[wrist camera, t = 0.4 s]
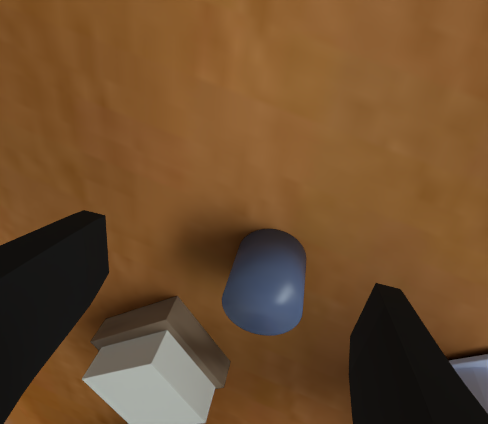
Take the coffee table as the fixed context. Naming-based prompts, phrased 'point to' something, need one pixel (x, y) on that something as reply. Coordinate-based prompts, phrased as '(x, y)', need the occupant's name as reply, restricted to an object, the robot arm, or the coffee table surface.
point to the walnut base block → (178, 325)
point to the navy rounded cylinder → (266, 283)
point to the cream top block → (151, 381)
